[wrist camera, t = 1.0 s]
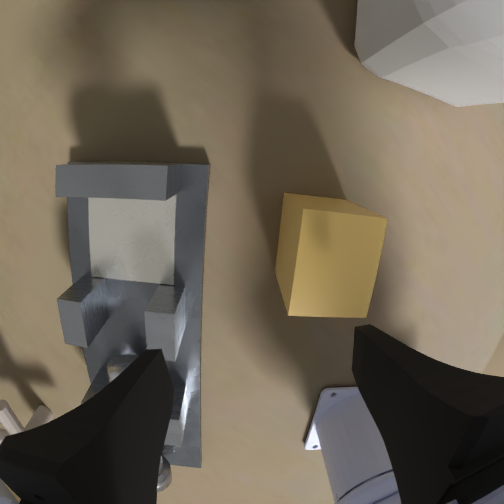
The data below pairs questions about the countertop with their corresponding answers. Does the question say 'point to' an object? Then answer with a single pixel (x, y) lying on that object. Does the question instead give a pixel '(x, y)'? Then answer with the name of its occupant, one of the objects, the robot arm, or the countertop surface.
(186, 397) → the metal support fixture
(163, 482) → the shaft
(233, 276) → the countertop surface
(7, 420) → the white crossed rods piece
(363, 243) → the block
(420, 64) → the soap bottle
